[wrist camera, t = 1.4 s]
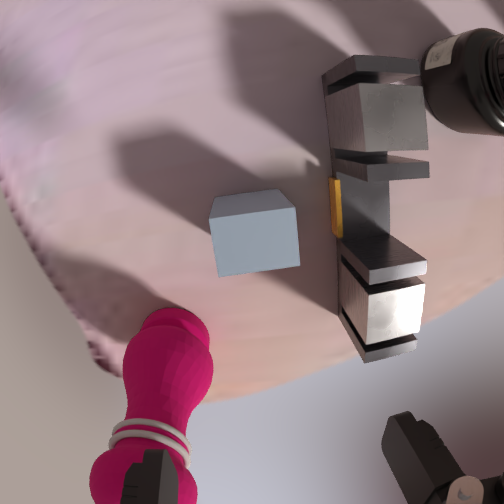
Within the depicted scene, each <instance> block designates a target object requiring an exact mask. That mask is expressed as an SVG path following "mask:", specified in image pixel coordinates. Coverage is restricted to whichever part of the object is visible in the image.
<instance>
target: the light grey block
mask: <svg viewBox="0 0 504 504" xmlns="http://www.w3.org/2000/svg"><path fill="white" fill-rule="evenodd" d="M209 224H210V230H211V236H212V242H213V248H214V254H215V260H216V265H217V271H218V277H224V276H231V275H238V274H246V273H253V272H260V271H267V270H274V269H281V268H288V267H295V266H300V256H299V244H298V232H297V221H296V210H295V206H294V205H293V204H292V203H291V202H290V201H289V200H288V199H287V198H286V197H285V196H284V195H283V194H282V193H281V192H280V191H279V190H278V189H272V190H264V191H256V192H248V193H241V194H234V195H227V196H220V197H215V198H214V201H213V205H212V209H211V212H210V216H209Z"/></svg>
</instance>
